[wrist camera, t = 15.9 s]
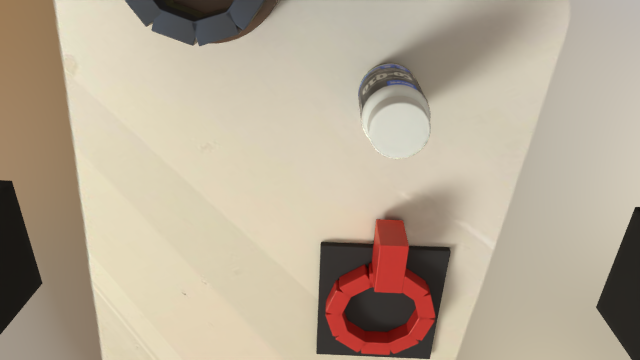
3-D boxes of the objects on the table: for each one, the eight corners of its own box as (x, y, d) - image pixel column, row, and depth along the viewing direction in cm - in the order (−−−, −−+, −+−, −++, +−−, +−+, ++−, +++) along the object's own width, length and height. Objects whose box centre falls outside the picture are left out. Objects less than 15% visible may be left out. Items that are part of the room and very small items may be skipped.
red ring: (425, 344, 50) (432, 376, 47) (323, 340, 50) (322, 371, 47) (448, 222, 43) (459, 248, 40) (330, 216, 43) (330, 242, 40)
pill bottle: (408, 53, 37) (427, 85, 30) (424, 108, 39) (445, 151, 32) (349, 74, 38) (353, 110, 30) (368, 127, 40) (375, 173, 32)
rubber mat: (449, 247, 45) (450, 251, 45) (428, 354, 52) (429, 359, 51) (321, 241, 45) (320, 245, 45) (316, 349, 52) (316, 354, 51)
